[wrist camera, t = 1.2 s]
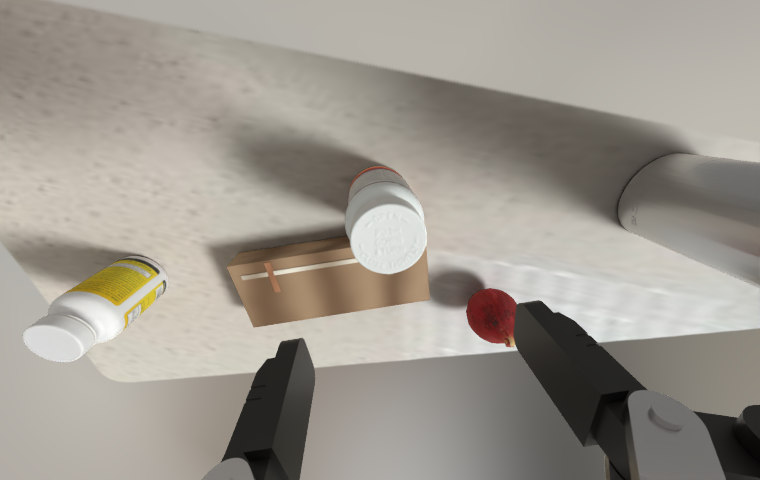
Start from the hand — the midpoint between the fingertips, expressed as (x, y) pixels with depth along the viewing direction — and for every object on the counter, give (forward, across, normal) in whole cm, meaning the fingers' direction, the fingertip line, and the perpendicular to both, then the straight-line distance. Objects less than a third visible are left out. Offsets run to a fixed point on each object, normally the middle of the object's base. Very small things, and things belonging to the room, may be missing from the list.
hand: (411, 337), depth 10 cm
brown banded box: (+20, +6, +8) cm, 22 cm away
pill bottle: (+20, 0, 0) cm, 20 cm away
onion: (+20, -11, +15) cm, 27 cm away
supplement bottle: (+20, +27, +5) cm, 34 cm away
